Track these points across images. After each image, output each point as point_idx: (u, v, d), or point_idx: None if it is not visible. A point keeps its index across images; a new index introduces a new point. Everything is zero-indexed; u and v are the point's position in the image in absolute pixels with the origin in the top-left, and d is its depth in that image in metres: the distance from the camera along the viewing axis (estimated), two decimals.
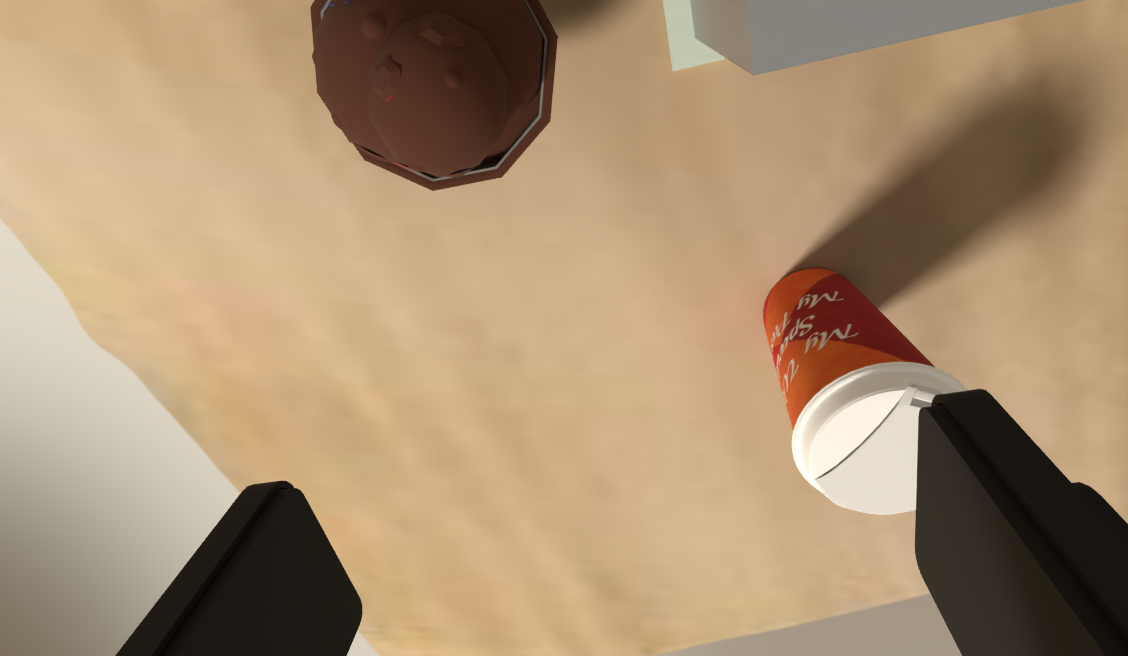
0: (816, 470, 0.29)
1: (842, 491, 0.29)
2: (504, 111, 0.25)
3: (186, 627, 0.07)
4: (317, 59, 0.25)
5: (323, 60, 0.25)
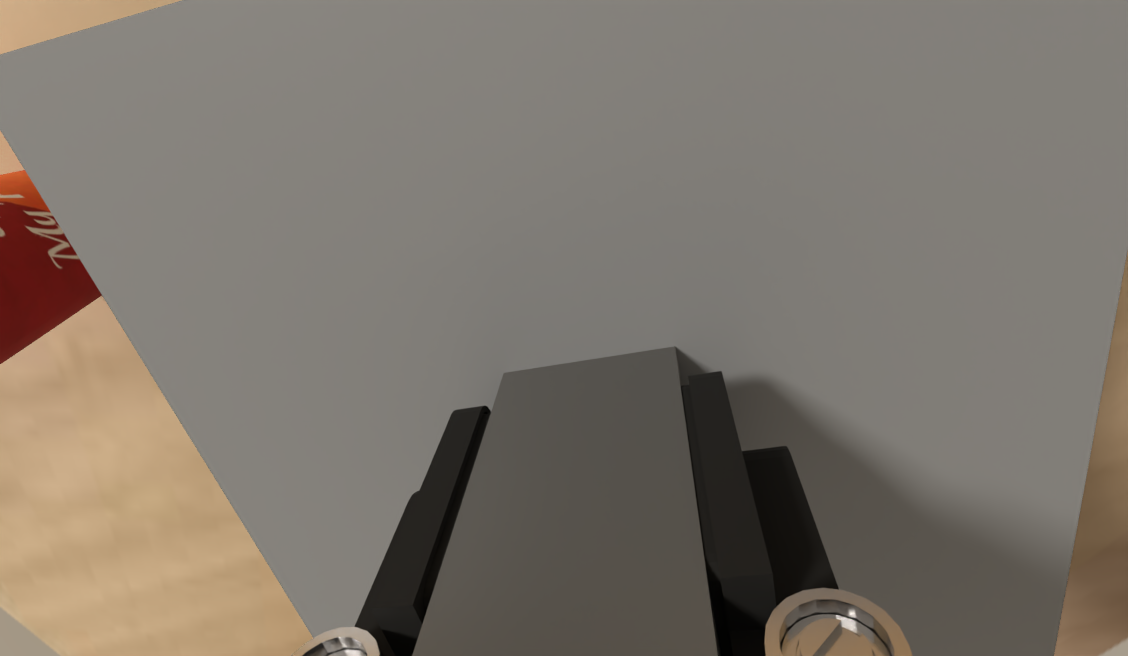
0: None
1: None
2: None
3: (453, 520, 0.08)
4: None
5: None
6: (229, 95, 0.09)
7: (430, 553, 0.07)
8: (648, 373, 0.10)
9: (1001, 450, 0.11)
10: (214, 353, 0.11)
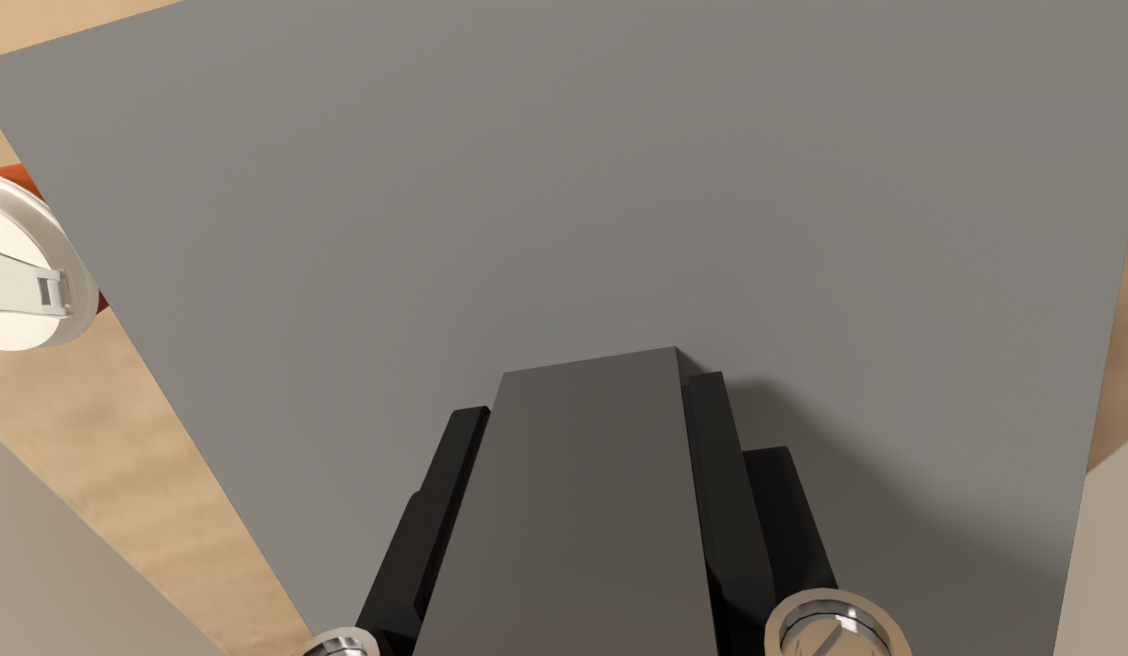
0: None
1: None
2: None
3: (453, 520, 0.08)
4: None
5: None
6: (230, 95, 0.09)
7: (431, 552, 0.07)
8: (648, 373, 0.10)
9: (1000, 449, 0.11)
10: (214, 353, 0.11)
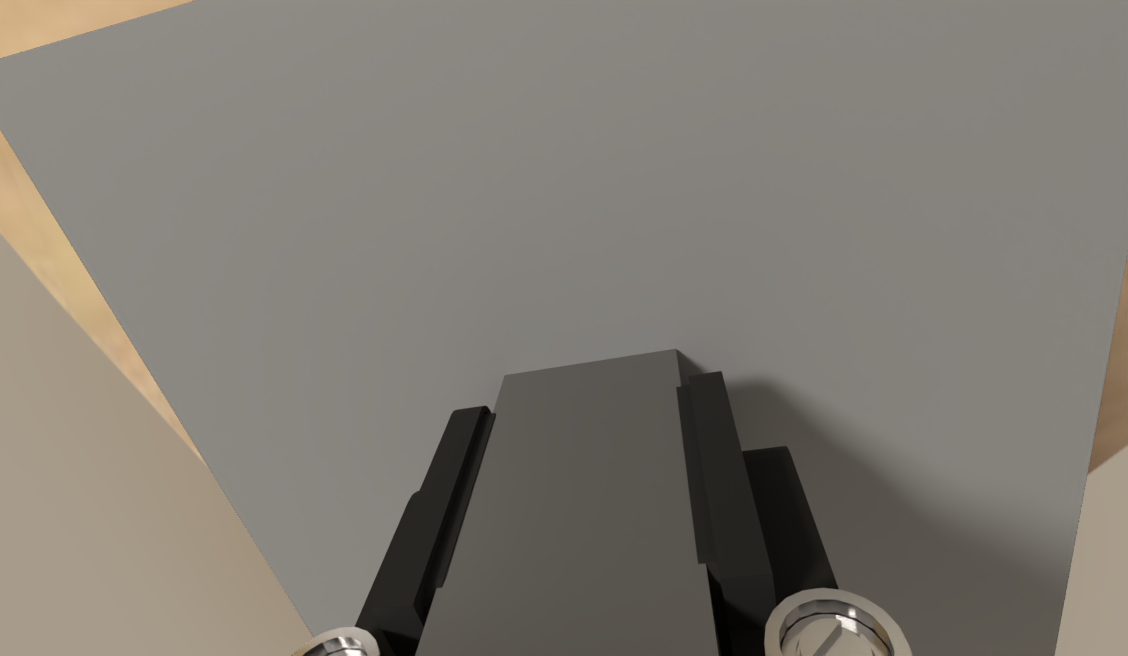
0: None
1: None
2: None
3: (452, 520, 0.08)
4: None
5: None
6: (231, 98, 0.09)
7: (431, 552, 0.07)
8: (649, 375, 0.10)
9: (1001, 452, 0.11)
10: (215, 355, 0.11)
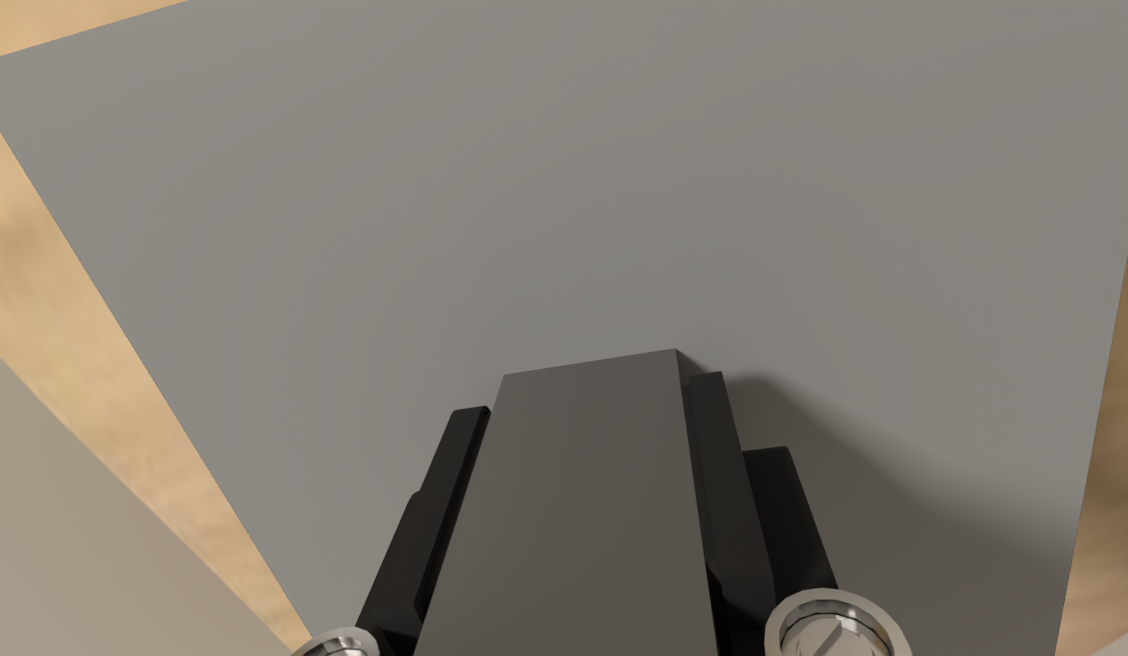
0: None
1: None
2: None
3: (453, 520, 0.08)
4: None
5: None
6: (229, 97, 0.09)
7: (430, 552, 0.07)
8: (648, 375, 0.10)
9: (1001, 452, 0.11)
10: (214, 355, 0.11)
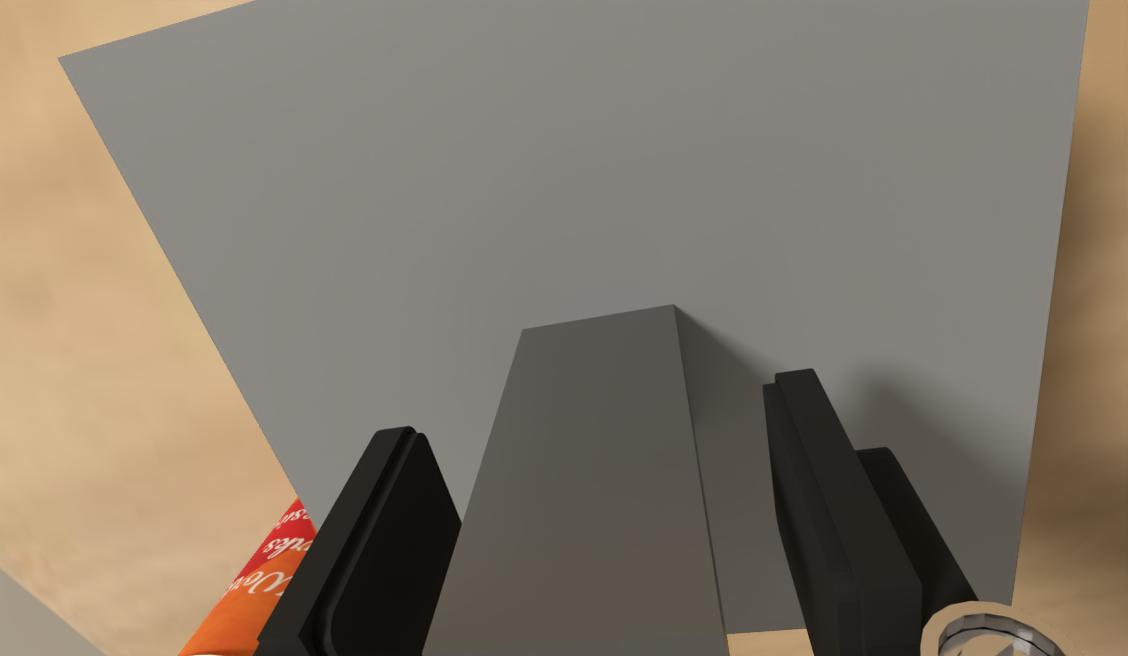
0: None
1: None
2: None
3: (355, 546, 0.08)
4: None
5: None
6: (289, 83, 0.11)
7: (326, 581, 0.07)
8: (650, 325, 0.11)
9: (960, 397, 0.12)
10: (265, 313, 0.13)
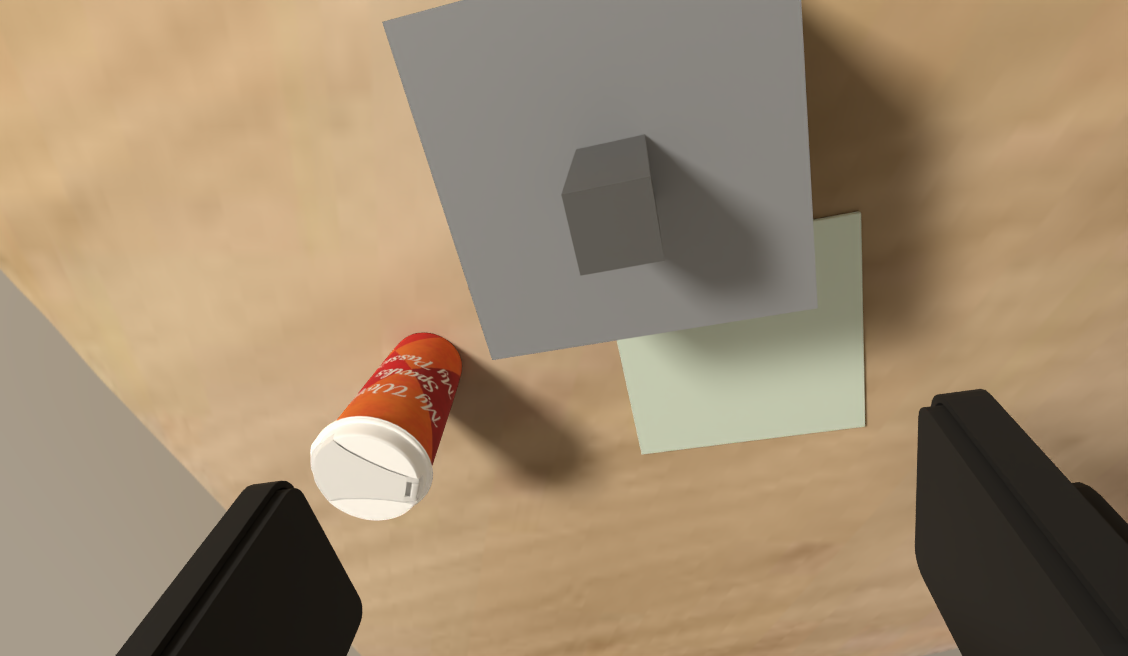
0: (341, 440, 0.40)
1: (327, 456, 0.41)
2: None
3: (186, 627, 0.07)
4: None
5: None
6: (481, 32, 0.25)
7: None
8: (633, 140, 0.26)
9: (776, 179, 0.27)
10: (455, 144, 0.28)
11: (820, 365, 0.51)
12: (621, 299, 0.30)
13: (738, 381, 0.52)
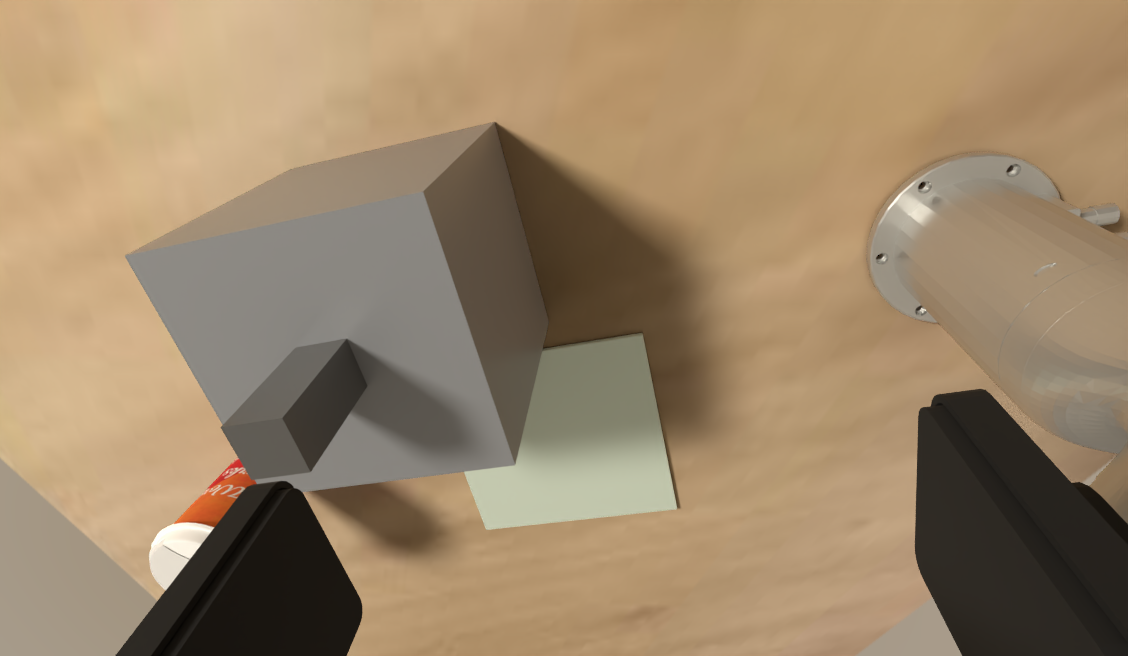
0: (169, 545, 0.46)
1: (160, 557, 0.47)
2: None
3: (186, 627, 0.07)
4: None
5: None
6: (203, 265, 0.32)
7: None
8: (332, 346, 0.32)
9: (457, 372, 0.33)
10: (200, 341, 0.34)
11: (629, 458, 0.57)
12: (357, 455, 0.37)
13: (560, 470, 0.58)
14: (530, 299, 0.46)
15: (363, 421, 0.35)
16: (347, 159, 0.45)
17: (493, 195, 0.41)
